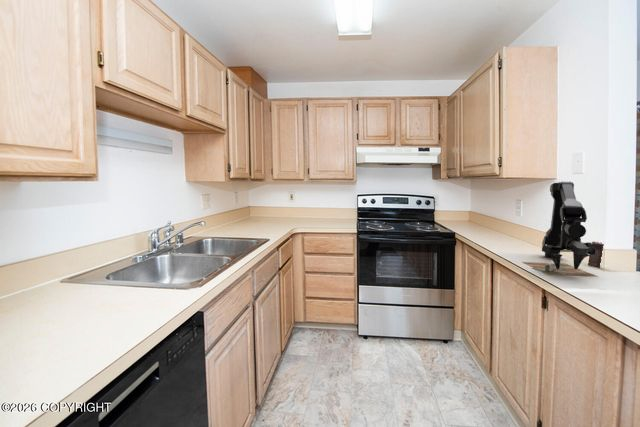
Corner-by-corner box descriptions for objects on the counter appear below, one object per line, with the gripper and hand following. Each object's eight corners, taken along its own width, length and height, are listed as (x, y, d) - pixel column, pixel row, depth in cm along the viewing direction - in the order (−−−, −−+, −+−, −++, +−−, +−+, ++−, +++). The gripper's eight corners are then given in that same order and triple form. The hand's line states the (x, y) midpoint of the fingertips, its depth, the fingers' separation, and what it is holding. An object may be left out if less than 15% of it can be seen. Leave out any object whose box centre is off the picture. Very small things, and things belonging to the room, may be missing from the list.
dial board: (518, 264, 150) (518, 261, 150) (564, 265, 149) (564, 262, 148) (545, 277, 130) (545, 274, 130) (599, 279, 128) (599, 276, 128)
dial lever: (553, 265, 142) (554, 259, 142) (560, 267, 140) (561, 260, 139) (542, 270, 134) (543, 263, 134) (550, 272, 132) (551, 264, 132)
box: (600, 270, 142) (603, 244, 141) (587, 267, 145) (590, 242, 144) (601, 267, 146) (604, 242, 145) (588, 265, 149) (591, 241, 148)
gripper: (560, 237, 125) (557, 274, 127) (608, 237, 124) (605, 275, 126) (542, 232, 136) (539, 266, 138) (586, 232, 135) (583, 267, 137)
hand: (566, 269), depth 134 cm, fingers open, 7 cm apart
